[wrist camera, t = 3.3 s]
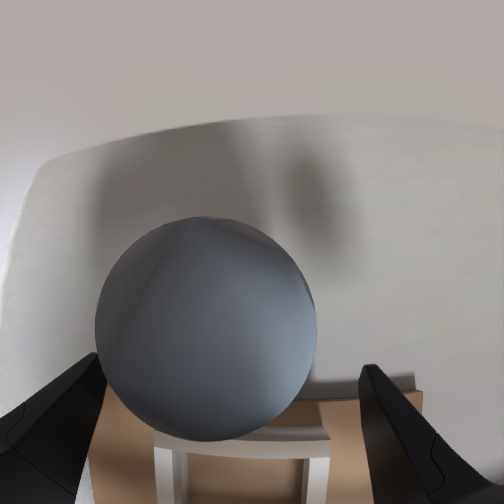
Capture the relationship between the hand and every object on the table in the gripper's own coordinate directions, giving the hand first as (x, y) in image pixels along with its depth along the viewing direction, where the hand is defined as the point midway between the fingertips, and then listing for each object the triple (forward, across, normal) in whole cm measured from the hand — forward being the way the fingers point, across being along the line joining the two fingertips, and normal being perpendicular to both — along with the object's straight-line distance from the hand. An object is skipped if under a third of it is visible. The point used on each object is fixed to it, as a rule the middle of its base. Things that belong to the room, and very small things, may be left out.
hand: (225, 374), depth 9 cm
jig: (0, 0, +12) cm, 12 cm away
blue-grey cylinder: (+7, 0, +6) cm, 9 cm away
